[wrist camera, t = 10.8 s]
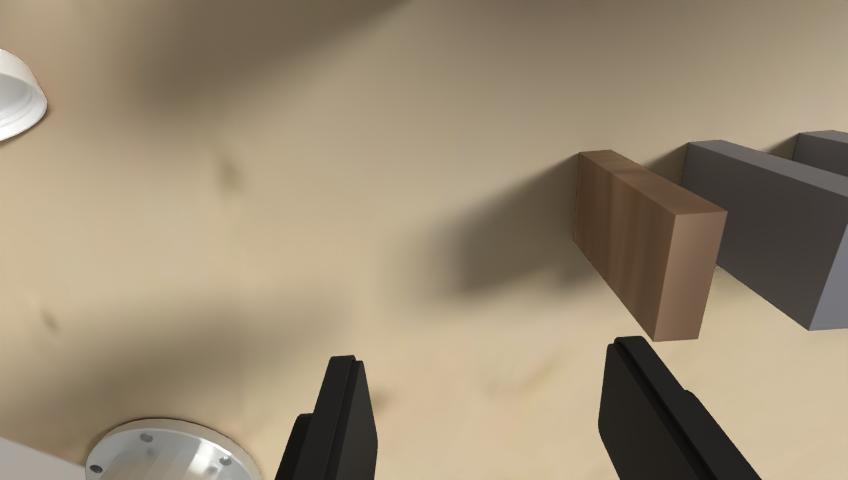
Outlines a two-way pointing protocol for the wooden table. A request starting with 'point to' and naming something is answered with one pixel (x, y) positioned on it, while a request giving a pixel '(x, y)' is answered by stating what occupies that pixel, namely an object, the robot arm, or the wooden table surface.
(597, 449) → the wooden table surface
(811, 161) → the domino
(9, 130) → the spread jar
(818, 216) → the domino
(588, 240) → the domino
